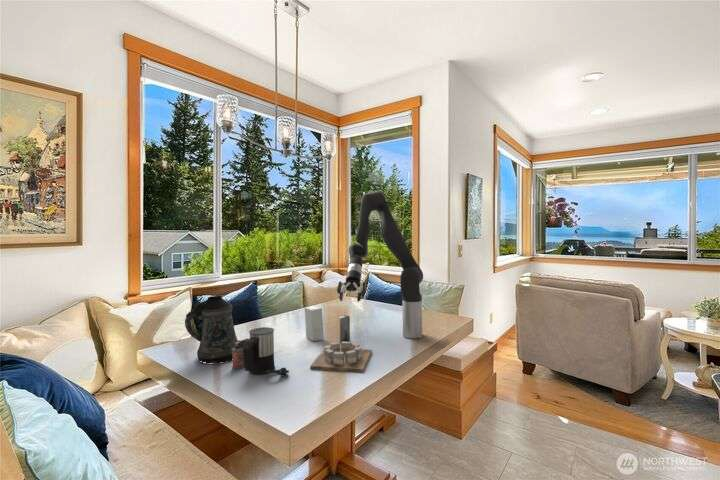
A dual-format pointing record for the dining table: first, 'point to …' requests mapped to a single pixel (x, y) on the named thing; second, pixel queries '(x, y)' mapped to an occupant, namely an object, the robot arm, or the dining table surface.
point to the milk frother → (260, 352)
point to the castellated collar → (342, 358)
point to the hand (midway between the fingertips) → (349, 300)
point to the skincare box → (314, 323)
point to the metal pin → (344, 328)
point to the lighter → (238, 354)
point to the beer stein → (213, 330)
